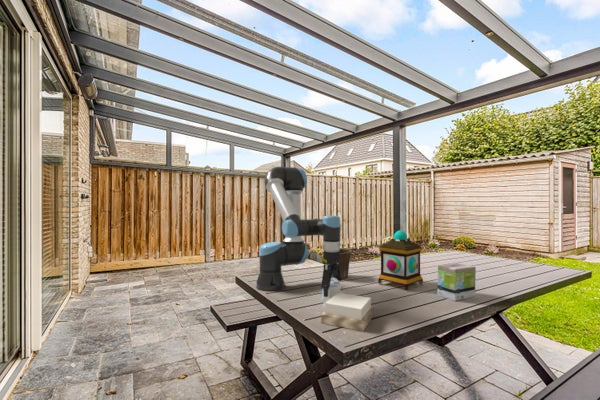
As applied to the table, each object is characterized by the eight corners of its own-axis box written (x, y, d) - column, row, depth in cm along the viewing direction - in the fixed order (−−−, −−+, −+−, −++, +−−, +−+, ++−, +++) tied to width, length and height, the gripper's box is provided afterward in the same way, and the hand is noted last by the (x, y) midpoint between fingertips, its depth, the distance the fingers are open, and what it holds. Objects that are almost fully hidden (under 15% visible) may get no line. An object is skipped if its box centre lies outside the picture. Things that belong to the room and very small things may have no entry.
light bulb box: (321, 300, 138) (321, 277, 138) (336, 300, 138) (336, 277, 138) (325, 309, 127) (325, 283, 127) (340, 308, 128) (340, 283, 128)
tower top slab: (324, 313, 114) (324, 303, 114) (337, 302, 126) (337, 292, 126) (361, 320, 107) (361, 309, 107) (370, 307, 120) (370, 297, 120)
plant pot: (353, 281, 172) (353, 253, 172) (325, 280, 173) (325, 252, 173) (349, 274, 189) (349, 248, 189) (323, 274, 189) (323, 248, 189)
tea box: (455, 301, 137) (455, 269, 137) (436, 295, 146) (436, 265, 146) (476, 297, 144) (476, 266, 144) (456, 291, 153) (456, 262, 153)
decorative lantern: (407, 292, 151) (407, 232, 151) (374, 284, 166) (374, 230, 166) (426, 285, 164) (426, 230, 164) (394, 278, 179) (394, 227, 179)
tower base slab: (321, 324, 113) (321, 314, 113) (335, 310, 127) (335, 301, 127) (363, 333, 106) (363, 321, 106) (373, 317, 120) (373, 307, 120)
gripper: (330, 255, 120) (330, 309, 120) (347, 247, 142) (348, 292, 142) (313, 254, 123) (313, 306, 123) (332, 246, 145) (333, 290, 145)
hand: (331, 299), depth 133 cm, fingers closed on light bulb box, 12 cm apart
